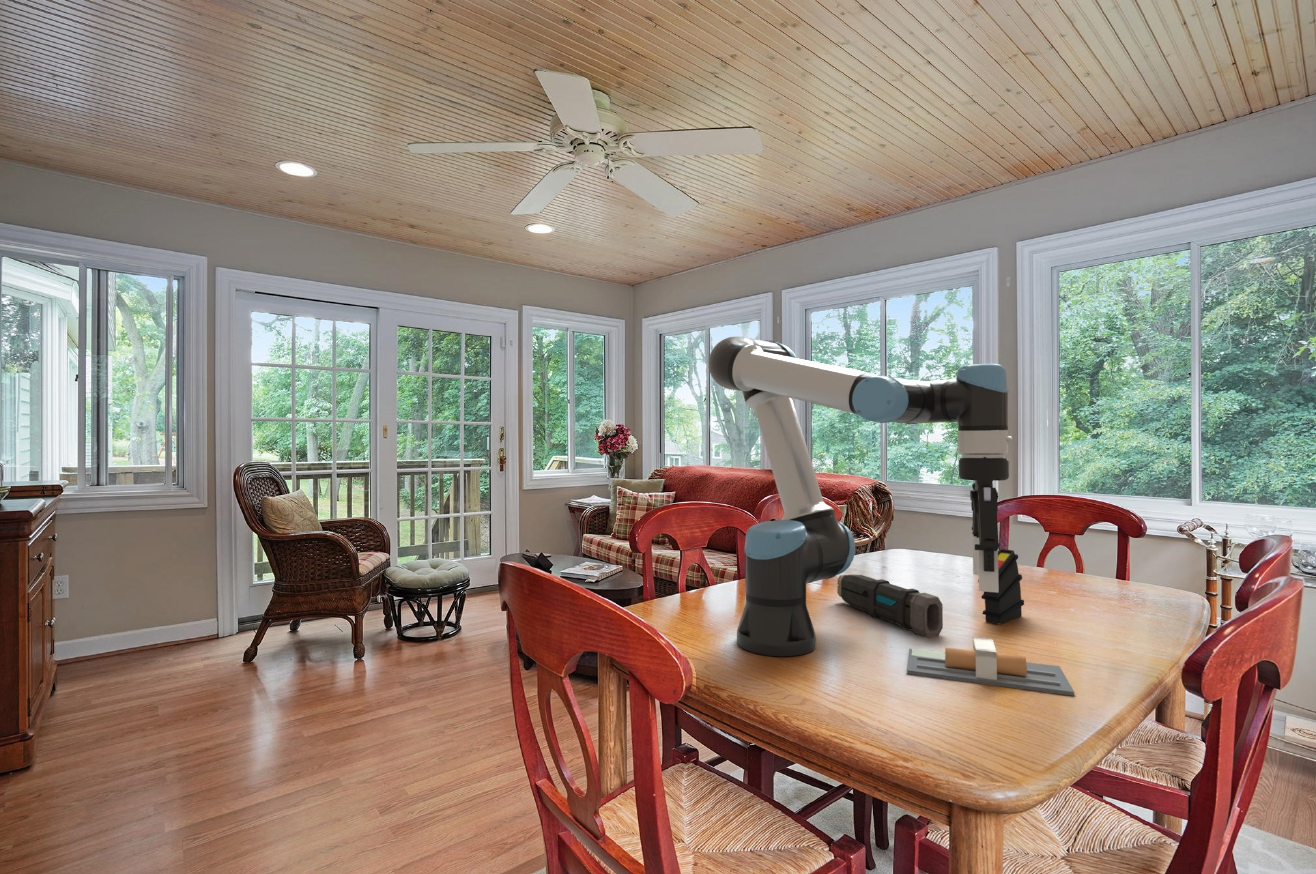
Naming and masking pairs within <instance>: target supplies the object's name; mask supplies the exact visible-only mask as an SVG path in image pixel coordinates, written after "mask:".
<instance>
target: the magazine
mask: <svg viewBox="0 0 1316 874" xmlns="http://www.w3.org/2000/svg"><path fill="white" fill-rule="evenodd" d="M1018 559H1019V555H1018V554H1017V553H1015V550H1012V549H1006V548H1005V549H1004V548H999V549H998V587H999V593H997V592H984V591H983V594H982V595H981V597H980V598H981V599H982V600H984V610H983V611H982V615H985V617H984V618H985V622H988V623H990V624H991V623H992V624H995V625H1001V624H1003V623H1007V622H1009V621H1012V620H1014V619H1017V618H1019V617H1022V615H1023V614H1022V613H1023V612H1022V606H1024V605H1025V600H1024V599H1022V590H1021V589H1022V588H1021V583H1020V582H1021V580H1022V579H1023V576H1022V574H1021V573H1019V566H1018V562H1017V560H1018ZM977 582H978V584H979V579H977Z"/></svg>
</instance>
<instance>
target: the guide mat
mask: <svg viewBox="0 0 1316 874" xmlns="http://www.w3.org/2000/svg"><path fill="white" fill-rule="evenodd" d="M1026 663H1027V676H1026V677H1022V676H1014V675H1006V674H998V673H997V680H993V679H985V678H977V677H976V671H974V670H966V669H958V668H950V667H946V666H945V652H942V651H933V650H925V649H916V648H908V659H907V670H906V672H907V675H914V676H922V677H928V678H937V679H943V680H949V681H950V680H951V681H959V682H960V681H961V682H967V683H974V684H981V685H990V686H998V687H1005V688H1012V689H1021V690H1028V691H1033V692H1042V693H1050V694H1057V695H1065V696H1066V695H1067V696H1073V697H1074V696H1075V691H1074V689H1073V687H1072V685H1071V684H1070V681H1069V680H1068V678H1067V677H1066V675H1065V673H1064V672H1063V670H1062V668H1061V666H1060V665H1055V664H1054V665H1053V664H1046V663H1045V664H1043V663H1037V662H1029V661H1026Z"/></svg>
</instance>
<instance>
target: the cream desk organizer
mask: <svg viewBox="0 0 1316 874" xmlns="http://www.w3.org/2000/svg"><path fill="white" fill-rule="evenodd" d="M972 650H973V651H975V654H976V677H977V678H985V679H993V680H997V653H998V652H997V649H996V646H995V643H994V640H993V639H992V638H984V637H975V636H973V637H972Z"/></svg>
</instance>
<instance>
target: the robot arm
mask: <svg viewBox="0 0 1316 874" xmlns="http://www.w3.org/2000/svg"><path fill="white" fill-rule="evenodd" d="M708 369H709V371H708V372H709V373H710V376H711V378H712V379H713V381H714V382H715V383H717V385H719V386H720V387H722V388H724V389H727V390H733V391H740V392H742V395H743V398H744V402H745V405H746V406H747V407H748V408H750V409H752V410H754V412H755V416H756V419H757V422H758V423H757V424H758V426H759V430H760V433H761V436H762V440H763V443H764V447H765V450H766V453H767V456H768V457H767V458H768V461H769V464H770V468H771V472H772V474H773V479H774V482H775V485H776V490H777V493H778V495H779V499H780V502H781V506H782V509H783V512H784V513H783V516H782V518H781V519H775V520H773V521H772V520H767V521H762V522H758V523H756V524H752V525H751V526H750V527H749V528H748V529H747V530H746V533H745V541H744V542H745V543H744V549H743V550H744V551H743V552H744V562H745V563H744V570H745V571H744V574H745V605H744V606H743V610H742V614H741V616H740V620H739V623H738V627H737V630H736V644H737V645H738V646H739V647H740V648H741V649H743V650H745V651H747V652H751V653H754V654H758V655H763V656H770V657H794V656H801V655H805V654H808V653H811V652H812V651H814V650H815V649H816V647H817V635H816V631H815V628H814V625H813V623H812V619H811V617H810V613H809V610H808V607H807V584H810V583H814V582H818V581H822V580H823V581H824V580H829V579H833V578H834V577H836V576H840V575H842V574H843V573H844V572H846V570H848V569H849V567H850V566H851V564H852V563H853V560H854V557H855V555H856V554H855V553H856V544H855V542H856V541H855V539H854V535H853V533H852V531H851V530H850V529H849V527H848V526H846V525H845V524H844V523H843V522H841V521H839V520H838V519H837V515H836V512H835V510H834V508H833V507H832V506H830V505H828V504H826V503H825V501H824V499H823V496H822V495H823V494H822V493H821V489H820V485H819V482H818V478H817V475H816V472H815V470H814V465H813V463H812V459H811V456H810V453H809V450H808V446H807V443H806V440H805V437H804V433H803V430H802V427H801V426H802V425H801V424H800V423H801V422H800V420H799V417H798V414H797V410H796V407H795V404H794V401H793V399H795V400H799V401H803V402H807V403H810V404H815V405H817V406H822V407H827V408H830V409H835V410H838V411H840V412H841V411H842V412H846V413H850V414H854V415H857V416H860V417H861V418H862V419H863V420H866V421H869V422H875V423H878V424H884V423H897V424H906V425H918V424H930V423H931V424H934V423H937V424H938V423H956V422H957V426H958V427H957V430H958V431H957V453H958V454H959V455H961V457H960V458H959V459H958V477H959V478H960V479H961V480H962V481H963V480H964V481H974V482H972V484H971V487H972V489H970V490H969V498H970V499H969V500H970V501H971V502H970V503H971V504H970V505H971V511H972V523H971V524H972V526H971V530H972V533H971V534H972V535H973V537H972V569H973V571H972V572H973V575H975V576H976V575H978V580H979V583H978V592H983V593H984V592H997V593H999V587H998V551H999V549H1000V547H1001V544H1000V542H999V527H998V510H999V509H998V502H999V493H998V490H997V488H996V487H994V486H993V485H994V484H993V481H995V482H996V481H1000V482H1001V481H1007V480H1008V479H1009V478H1010V465H1009V464H1010V460H1009V459H1008V457H1005V455H1007V454H1008V453H1009V444H1008V443H1011V442H1012V441H1013V437H1012V436H1011V435H1010V436H1009V435H1008V434H1009V433H1008V430H1009V426H1008V425H1009V424H1008V420H1009V419H1008V418H1009V416H1008V415H1009V413H1008V412H1009V407H1008V406H1009V396H1008V395H1009V389H1008V380H1007V369H1006V368H1005V367H1004V366H1003V365H1002V364H998V363H981V364H980V363H977V364H968V365H961V366H960V367H959V368H958V369H957V372H956V373H957V374H956V377H955V378H952V379H946V380H945V379H943V380H941V379H940V380H916V379H908V378H899V377H892V376H886V375H882V374H877V373H872V372H871V373H870V372H866V371H861V370H857V369H852V368H846V367H842V366H837V365H832V364H831V365H830V364H827V363H821V362H817V361H811V360H807V359H801V358H797V356H796V354H795V352H794V351H793V350H792V349H791V348H790V347H788V346H786V345H785V344H783V343H780V342H777V341H774V340H769V339H767V340H761V339H757V338H756V339H755V338H750V337H744V336H729V337H726V338H724V339H721V340H720V341H719V342H718V343H716V345H715V346H714V347H713V348H712V349H711V351H710V354H709V357H708Z"/></svg>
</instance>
